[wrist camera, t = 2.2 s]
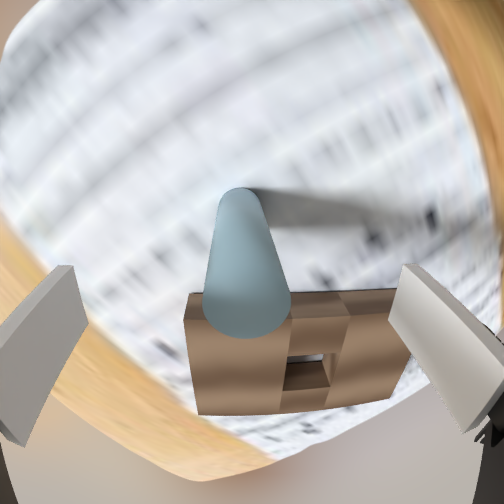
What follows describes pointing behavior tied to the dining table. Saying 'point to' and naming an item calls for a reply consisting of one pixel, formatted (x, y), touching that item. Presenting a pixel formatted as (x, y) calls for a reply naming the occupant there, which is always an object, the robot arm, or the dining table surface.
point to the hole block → (296, 344)
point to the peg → (244, 271)
